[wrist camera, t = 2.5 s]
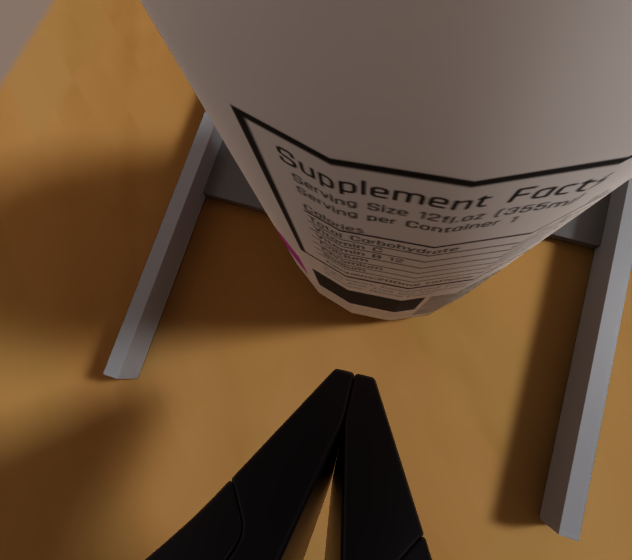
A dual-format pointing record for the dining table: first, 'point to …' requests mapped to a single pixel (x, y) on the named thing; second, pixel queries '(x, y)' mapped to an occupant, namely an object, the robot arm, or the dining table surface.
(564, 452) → the grey bars
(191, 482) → the dining table surface
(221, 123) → the supplement can
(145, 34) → the dining table surface
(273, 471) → the robot arm
